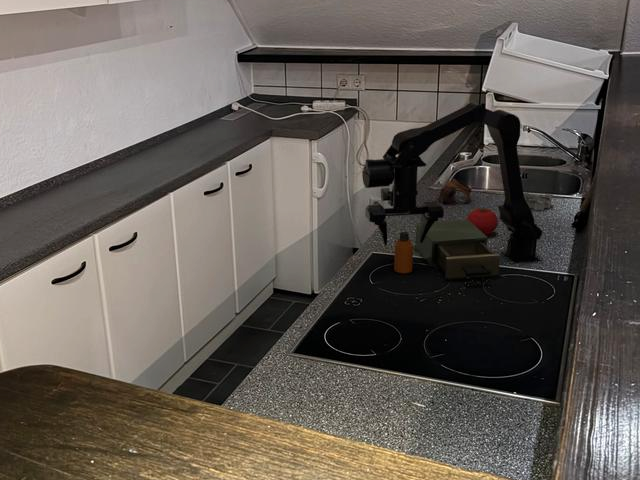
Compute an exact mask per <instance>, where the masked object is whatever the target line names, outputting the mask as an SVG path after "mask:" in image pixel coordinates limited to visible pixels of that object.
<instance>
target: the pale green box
mask: <svg viewBox="0 0 640 480" xmlns="http://www.w3.org/2000/svg"><path fill="white" fill-rule="evenodd" d="M415 225H416V227H415V248H416V250H417V251H418V252H419V253H420V255H421V256H422V257H423V258H424V259H425V261H426V262H427V263H428V265H429V266H430V267H431V268H435V267H440V266H439V265H438V263H437V262H436V261H435V244H439V243H453V242H468V241H482V242H483V243H484V244H485V245H486V246H487V247H488V236H487V235H484V234H483V233H482V232H481V231H480V230H479V229H478V228H477V227H476V226H474V225H473V224H472V223H471V222H470V221H469V220H467V219H457V220H443V221H442V220H441V221H440V220H438V221H435V222H434V223H433V225H432V226H431V228H430V229H429V231H428V233H427V235H426V236H425V238H424V240H423V242H422V243H420V228H421V222H416V223H415Z"/></svg>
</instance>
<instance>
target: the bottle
mask: <svg viewBox="0 0 640 480" xmlns="http://www.w3.org/2000/svg"><path fill="white" fill-rule="evenodd" d="M409 234H410V233H409V232H408V231H401V232H400V233H399V238H397V240H396V241H397V242H395V243H394V256H393V257H394V261H393V271H394V272H396V273H399V274H409V273H412V272H413V261H414V260H413V259H414V258H413V257H414V243H412V240H411V239H410V238H409V236H410V235H409Z"/></svg>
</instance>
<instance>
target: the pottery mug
mask: <svg viewBox="0 0 640 480" xmlns="http://www.w3.org/2000/svg"><path fill="white" fill-rule="evenodd" d="M472 191H473V190H472V188H471V187H470V186H468V185H467V184H466V183H464V182H463V181H461V180H459V179H457V178H452V180H451V181H447V182H446V183H445V184H444V185H443V186H442V187H441V189H440V192H439V195H438V199H437V200H438V201H439V202H440V203H442V204H444V202H446V203H451V202H452V201H453V199H454V197H455V196H456V195H457V192H461V193H462V194H464V195H466V199H465V203H469V201H470V199H471V192H472Z"/></svg>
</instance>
